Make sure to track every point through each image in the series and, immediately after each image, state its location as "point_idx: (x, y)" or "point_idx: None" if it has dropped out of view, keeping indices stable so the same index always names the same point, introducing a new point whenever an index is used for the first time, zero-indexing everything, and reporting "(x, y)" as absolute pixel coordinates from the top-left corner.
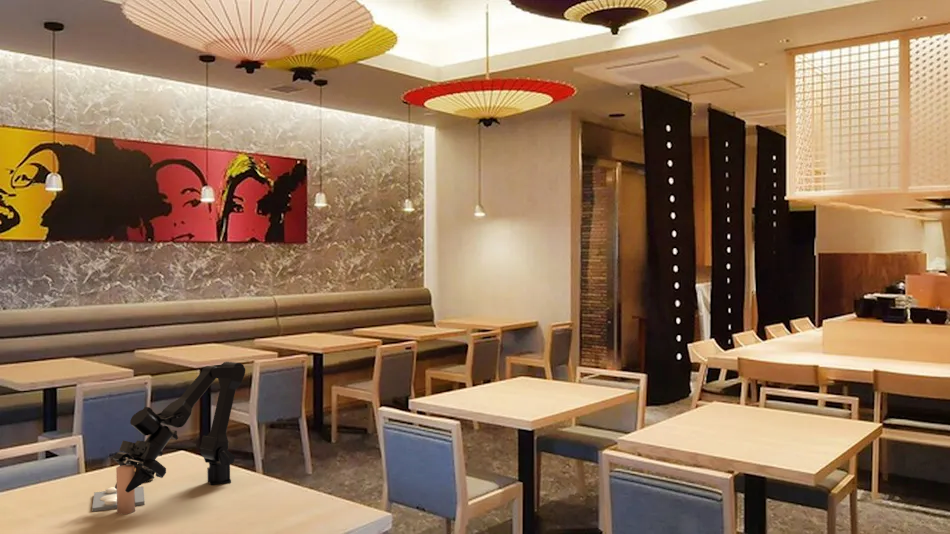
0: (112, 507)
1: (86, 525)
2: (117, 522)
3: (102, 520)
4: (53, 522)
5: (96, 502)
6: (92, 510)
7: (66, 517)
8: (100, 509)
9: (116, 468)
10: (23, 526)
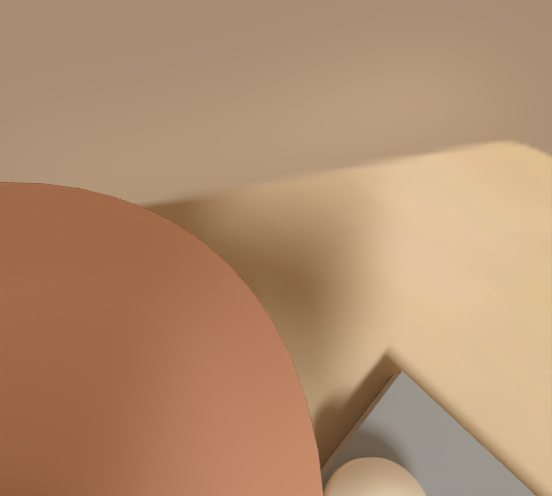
0: None
1: (232, 200)
2: None
3: None
4: (414, 198)
5: (499, 492)
6: (395, 374)
7: (428, 260)
8: (367, 412)
9: (199, 243)
10: (470, 146)
